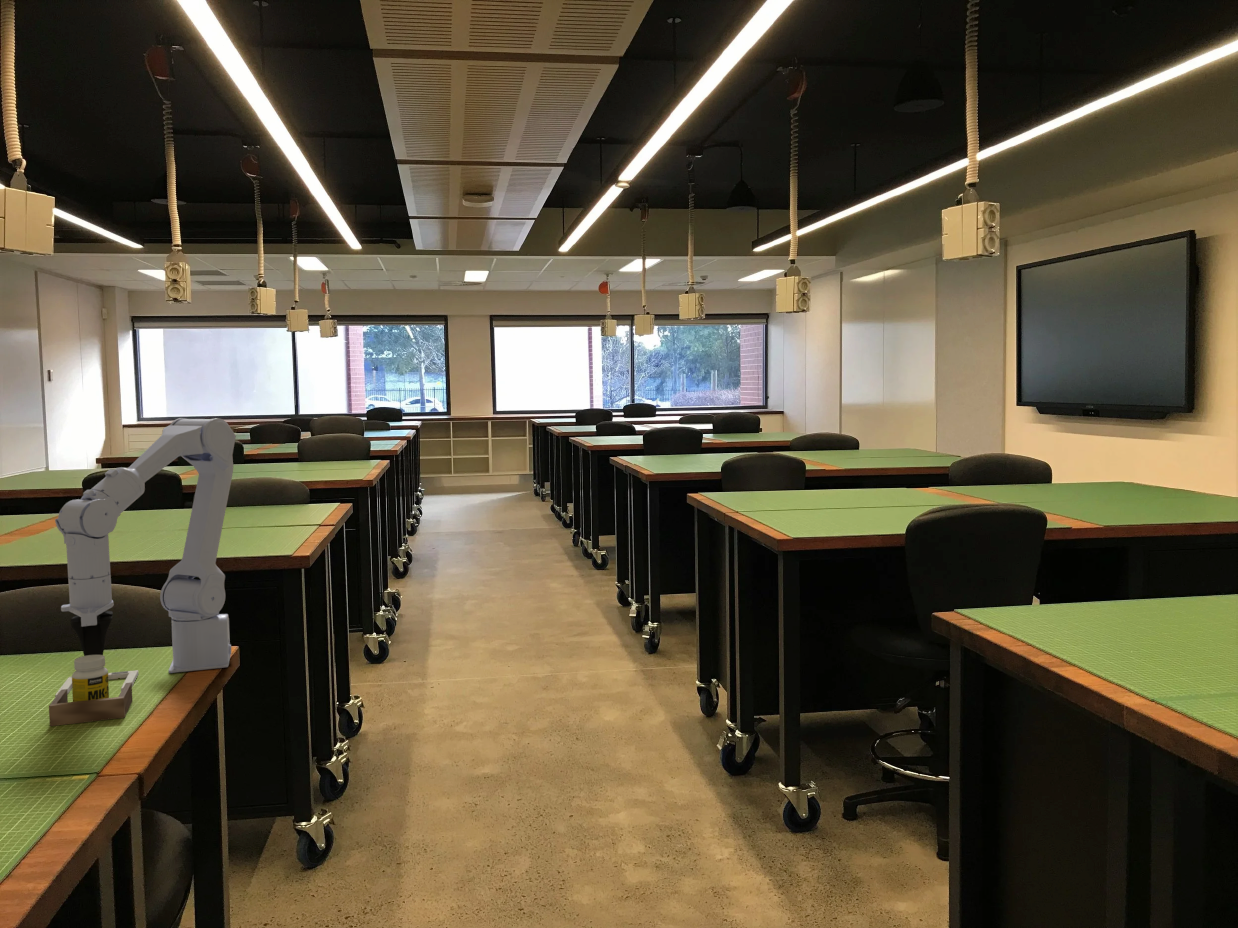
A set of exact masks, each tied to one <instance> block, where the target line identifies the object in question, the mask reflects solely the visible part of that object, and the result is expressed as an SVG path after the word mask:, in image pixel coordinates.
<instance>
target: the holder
mask: <svg viewBox="0 0 1238 928" xmlns="http://www.w3.org/2000/svg"><path fill="white" fill-rule="evenodd" d="M68 697H69V696H68V694H67V689H63V690H61V691H60V692H59V693H58V695H57V696H56V697H54V699H53V700H52V701H51V703H50V704H49V705H48V715H49V717H48V718H49V726H50V727H54V726H55V727H56V726H62V725H63V726H65V725H73V724H74V725H75V724H81V723H90V722H91V723H92V722H99V721H107V720H115V719H116V720H117V719H123V718H125V717H126V715H127V713H128V712H129V710H130V707H131V705H132V703H133V686H132V682H131V683H126V684H125V686H124V687H123V689H122V691H121V690H120V694H119V695H118V696H117V697H109V698H105V699H95V700H86V701H77V702H73V701H69V700H68Z"/></svg>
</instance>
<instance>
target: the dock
mask: <svg viewBox="0 0 1238 928" xmlns="http://www.w3.org/2000/svg"><path fill="white" fill-rule="evenodd" d="M137 676H139V670H138V669H136V670H124V671H116V672H113V671H112V672H108V681H109V680H119V679H118V678H120V679H125V680H124V681H123V684H122V685H121V687H120V692H121V691H122V689H123V687H124V686H125V684H126V683H131V682H132V687H134V684H135V683H134V682H136V681H135V680H137V679H136V678H138V677H137ZM63 689H67V695H68V694H69V693H70V692H71V691H72V676H68V678H67V679H66V680H65V681H64V683H63V684H62V685H61V687H59V689H58V691H57V692H56V693H55V695H54V696H55V697H56V696H57V695H58V693H59V692H60V691H61V690H63ZM55 697H54V698H55Z"/></svg>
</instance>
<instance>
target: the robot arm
mask: <svg viewBox="0 0 1238 928" xmlns="http://www.w3.org/2000/svg"><path fill="white" fill-rule="evenodd" d="M236 437H237V436H236V434H235V433H234V431H233V429H232V428H231V426H230V425H229V424H228V422H227V421H226V420H224V419H222V418H216V417H215V418H210V419H208V418H207V419H205V418H185V417H179V418H176V419H174V420H173V421H171V423H170V424H169V425H168V426H165V427H164V428H163V429H162V433H161V435H160V436H159V437H158V438H157V439H156V440H155V441H154V442H153V443H152V444H151V445H150V446H148V448H147V449H146V450H145V451H144V452H142V454H140V456H139V457H137V458H136V460H135V461H133V463H131V465H130V466H128V467H116V468H115V469H113V468H110V469H108V470H107V471H106V472H105V473H104V475H105V477H104V478H103V479H101V480H100V481H99V482H97V484H95V485H94V486H93V487H91V489H86V490H84V492H82V496H81V498H80V499H79V498H78V499H76V498H75V499H72V500H69V501H67V502H65V504H64V505H63V506H62V507H61V508H60V510H59V512H58V515H57V516H58V517H57V518H55V519H54V522H55V525H56V528H57V529H58V531H59V532H60V533H61V534H62V536H63V544H65V546H66V559H67V560H66V561H67V562H66V563H67V579H68V596H69V603H68V604H62V605H61V606H60V611H61V612H70V613H72V614H74V615H75V616H73V617H71V619H70V622H69V623H70V626H71V627H72V629H73V630H74V632H75V634H76V635H77V637H78V640H79V642H80V646H81V649H82V653H83V656H88V655H103V656H104V652H105V642H106V635H107V632H108V629H109V627H110V624H111V622H112V620H113V616H114V615H113V614H114V613H113V611H112V610H111V611H110V610H109V609H112V608H113V607H114V605H115V604H114V600H113V599H112V598H113V596H112V578H111V577H112V575H111V559H110V541H109V538H110V537H109V534H110V533H112V532H114V530H115V528H116V526H117V523H118V522H117V521H118V518H119V517H120V516H121V514H122V513H123V512H124V511H125V510H126V509H127V508H129V507H130V506H131V505H132V504H133V503H134V502H135V501H136V500H138V499H139V498H140V497H141V496H142V495H143V494H144V493H145V490H146V488H145V486H146V485H145V483H146V482H147V481H149V480H150V479H151V478H153V477H154V476H155V475H157V474H158V473H159V472H161V471H162V470H163V469H165V467H166V466H168V465H170V463H172V462H173V461H175V460H176V459H177V458H179V457H182V458H183V459H184V460H185V461H187V463H189V464H190V465H192V466H193V468H194V470H196V472H197V473H198V477H197V483H196V487H195V493H194V497H193V503H192V507H191V513H190V516H189V523H188V528H187V531H186V532H187V533H186V538H185V542H184V546H183V547H184V548H183V552H182V553H183V554H182V559H181V560H180V561H179V562H177V563H176V564H175V565H174V566H173V567H172V568H170V570H169V572H168V577H167V579H166V581H165V583H164V584H163V586H162V588H161V590H160V595H159V599H160V600H159V601H160V603H161V606H162V607H163V609H164V610H166V611H168V617H169V618H171V619H170V620H171V640H172V642H171V644H172V646H171V647H172V661H171V663H170V666H169V668H168V673H169V674H173V673H174V674H176V673H182V672H183V673H185V672H193V671H203V670H205V671H206V670H213V669H222V668H223V669H224V668H228V667H229V665H230V659H231V655H232V644H231V642H230V641H231V640H230V637H231V636H230V618H229V614H228V613H220V611H221V610H222V609H223V607H224V604H225V601H226V590H225V580H226V574H225V573H224V572H223V571H222V570H221V569H220V568H219V567H218V566H217V563H216V562H217V557H218V552H219V547H220V542H221V536H222V530H223V524H224V520H225V515H226V511H227V505H228V500H229V494H230V489H231V484H232V479H233V473H234V462H233V461H234V459H233V454H234V449H235V448H234V447H235V444H236ZM195 578H199V579H195Z"/></svg>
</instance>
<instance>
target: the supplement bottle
mask: <svg viewBox="0 0 1238 928" xmlns="http://www.w3.org/2000/svg"><path fill="white" fill-rule="evenodd" d="M73 662H74V664H73V665H74V670H75V671H73V673H72V675H71V677H72V689H71V691H72V692H71V693H72V702H77V701H86V700H95V699H105V698H110V692H109V691H110V687H109V680H108V673H109V670H108V668H106V667H105V666H106V657H105V655H104V654H103V655H88V656H84V655H83V656H80V657H79V656H78V657H77V658H75V659H74V660H73Z"/></svg>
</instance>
